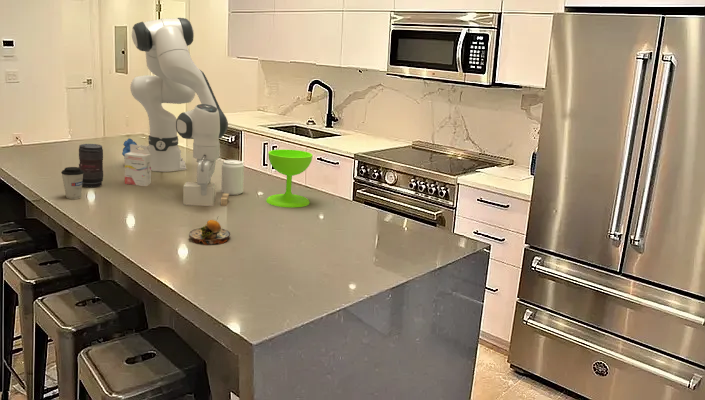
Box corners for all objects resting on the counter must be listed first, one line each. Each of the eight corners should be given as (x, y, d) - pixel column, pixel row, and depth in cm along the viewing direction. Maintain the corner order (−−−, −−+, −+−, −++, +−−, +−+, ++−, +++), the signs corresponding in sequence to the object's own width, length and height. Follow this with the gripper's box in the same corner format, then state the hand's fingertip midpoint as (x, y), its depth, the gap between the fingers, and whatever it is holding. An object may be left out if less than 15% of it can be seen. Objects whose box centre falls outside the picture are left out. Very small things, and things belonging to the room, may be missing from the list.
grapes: (115, 165, 256) (114, 137, 253) (130, 163, 261) (129, 136, 258) (129, 170, 249) (128, 141, 246) (144, 168, 254) (143, 140, 251)
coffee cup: (57, 197, 202) (56, 168, 200) (75, 193, 209) (74, 165, 206) (71, 200, 199) (70, 171, 197) (89, 197, 205) (88, 168, 203)
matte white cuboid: (186, 199, 212) (186, 181, 210) (215, 200, 213) (215, 182, 211) (183, 204, 205) (183, 186, 204) (213, 206, 206) (213, 187, 205)
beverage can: (238, 196, 221) (239, 164, 218) (217, 193, 223) (218, 162, 220) (246, 191, 229) (247, 161, 226) (226, 189, 230) (227, 158, 227)
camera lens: (87, 189, 215) (86, 148, 211) (75, 184, 220) (74, 144, 216) (108, 186, 221) (107, 146, 218) (96, 181, 226) (95, 142, 222)
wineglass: (283, 193, 230) (286, 147, 226) (318, 202, 223) (321, 154, 218) (257, 201, 217) (258, 152, 213) (292, 210, 209) (295, 159, 205)
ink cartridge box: (124, 184, 226) (123, 145, 222) (130, 181, 231) (129, 143, 227) (145, 186, 225) (145, 147, 222) (151, 183, 230) (151, 145, 226)
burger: (213, 230, 182) (214, 206, 180) (238, 240, 175) (239, 216, 173) (179, 238, 173) (180, 213, 171) (205, 249, 166) (205, 223, 164)
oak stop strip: (223, 200, 215) (223, 193, 214) (228, 200, 215) (228, 193, 215) (220, 205, 207) (221, 199, 207) (226, 206, 208) (226, 199, 207)
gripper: (212, 159, 196) (211, 199, 199) (218, 147, 215) (217, 184, 219) (192, 158, 195) (192, 198, 198) (200, 146, 214) (200, 184, 218)
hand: (205, 191), depth 209 cm, fingers open, 8 cm apart
